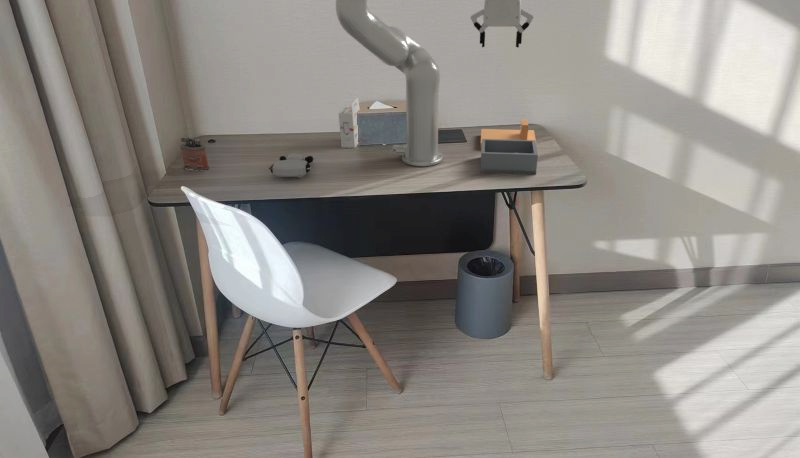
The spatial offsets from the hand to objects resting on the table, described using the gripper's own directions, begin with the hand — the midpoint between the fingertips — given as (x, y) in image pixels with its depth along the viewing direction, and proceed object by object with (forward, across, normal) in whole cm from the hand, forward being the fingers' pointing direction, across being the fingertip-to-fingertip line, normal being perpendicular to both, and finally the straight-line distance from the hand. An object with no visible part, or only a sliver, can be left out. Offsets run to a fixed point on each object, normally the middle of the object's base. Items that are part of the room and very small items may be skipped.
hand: (500, 46), depth 173 cm
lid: (+33, +4, +11) cm, 35 cm away
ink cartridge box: (+34, -47, +7) cm, 58 cm away
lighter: (+34, -90, -18) cm, 98 cm away
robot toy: (+34, -59, -18) cm, 71 cm away
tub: (+33, +4, -8) cm, 34 cm away
